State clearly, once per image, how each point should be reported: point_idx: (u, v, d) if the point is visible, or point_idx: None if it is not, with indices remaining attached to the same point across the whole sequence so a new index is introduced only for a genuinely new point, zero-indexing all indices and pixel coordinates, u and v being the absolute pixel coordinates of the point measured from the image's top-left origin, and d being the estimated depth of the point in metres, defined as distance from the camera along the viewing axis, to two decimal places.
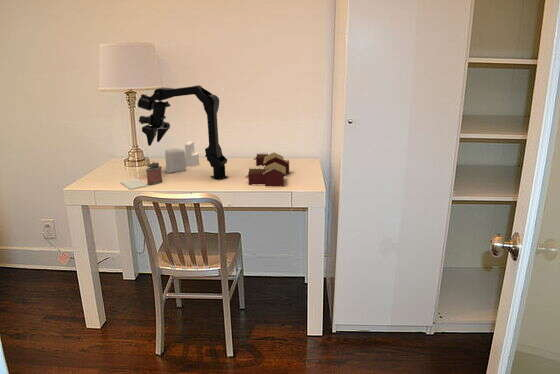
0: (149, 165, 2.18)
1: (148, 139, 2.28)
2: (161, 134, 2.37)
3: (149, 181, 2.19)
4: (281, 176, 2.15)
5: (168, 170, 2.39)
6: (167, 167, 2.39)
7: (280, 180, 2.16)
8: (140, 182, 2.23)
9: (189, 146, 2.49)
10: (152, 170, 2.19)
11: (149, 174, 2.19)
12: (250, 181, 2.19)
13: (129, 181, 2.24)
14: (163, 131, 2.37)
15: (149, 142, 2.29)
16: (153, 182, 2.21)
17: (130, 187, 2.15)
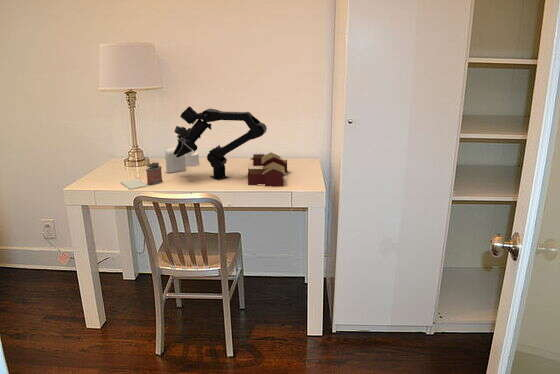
0: (149, 165, 2.18)
1: (181, 151, 2.21)
2: None
3: (149, 181, 2.19)
4: (281, 176, 2.15)
5: (168, 170, 2.39)
6: (167, 167, 2.39)
7: (280, 180, 2.16)
8: (140, 182, 2.23)
9: None
10: (152, 170, 2.19)
11: (149, 174, 2.19)
12: (249, 181, 2.19)
13: (129, 181, 2.24)
14: None
15: (180, 154, 2.21)
16: (153, 182, 2.21)
17: (130, 187, 2.15)
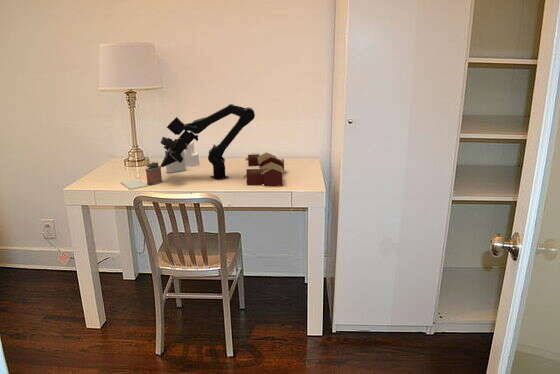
0: (149, 165, 2.18)
1: (165, 161, 2.22)
2: None
3: (149, 181, 2.19)
4: (280, 175, 2.16)
5: (168, 170, 2.39)
6: (167, 167, 2.39)
7: (279, 180, 2.16)
8: (140, 182, 2.23)
9: (189, 146, 2.49)
10: (152, 170, 2.19)
11: (149, 174, 2.18)
12: (248, 181, 2.18)
13: (129, 181, 2.24)
14: None
15: (164, 164, 2.23)
16: (153, 182, 2.21)
17: (130, 187, 2.15)
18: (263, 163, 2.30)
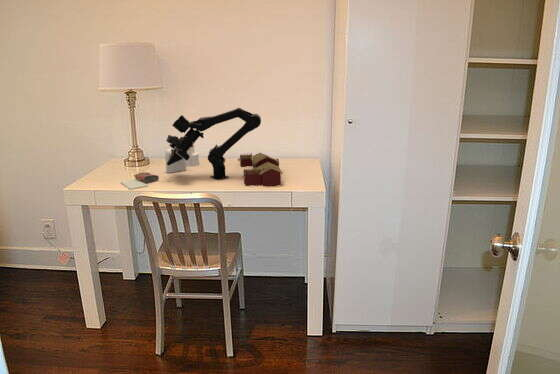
0: (136, 174, 2.28)
1: (172, 159, 2.23)
2: None
3: (142, 177, 2.22)
4: (279, 175, 2.16)
5: (168, 170, 2.39)
6: (167, 167, 2.39)
7: (277, 179, 2.17)
8: (140, 182, 2.23)
9: None
10: (140, 173, 2.27)
11: (139, 175, 2.25)
12: (247, 182, 2.17)
13: (129, 181, 2.24)
14: None
15: (170, 162, 2.23)
16: (146, 176, 2.23)
17: (130, 187, 2.15)
18: (259, 163, 2.30)
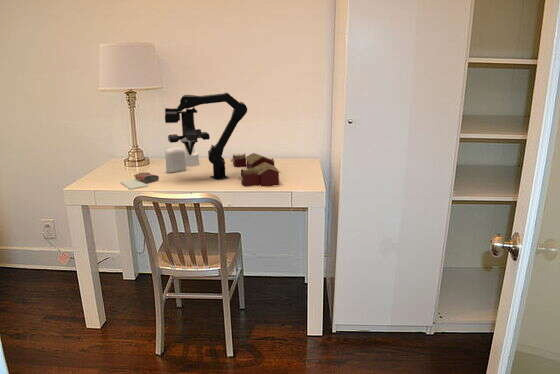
0: (136, 174, 2.28)
1: None
2: None
3: (142, 177, 2.22)
4: (277, 175, 2.17)
5: (168, 170, 2.39)
6: (167, 167, 2.39)
7: (276, 179, 2.17)
8: (140, 182, 2.23)
9: None
10: (140, 173, 2.27)
11: (139, 175, 2.25)
12: (245, 182, 2.17)
13: (129, 181, 2.24)
14: None
15: None
16: (146, 176, 2.23)
17: (130, 187, 2.15)
18: (255, 163, 2.30)
